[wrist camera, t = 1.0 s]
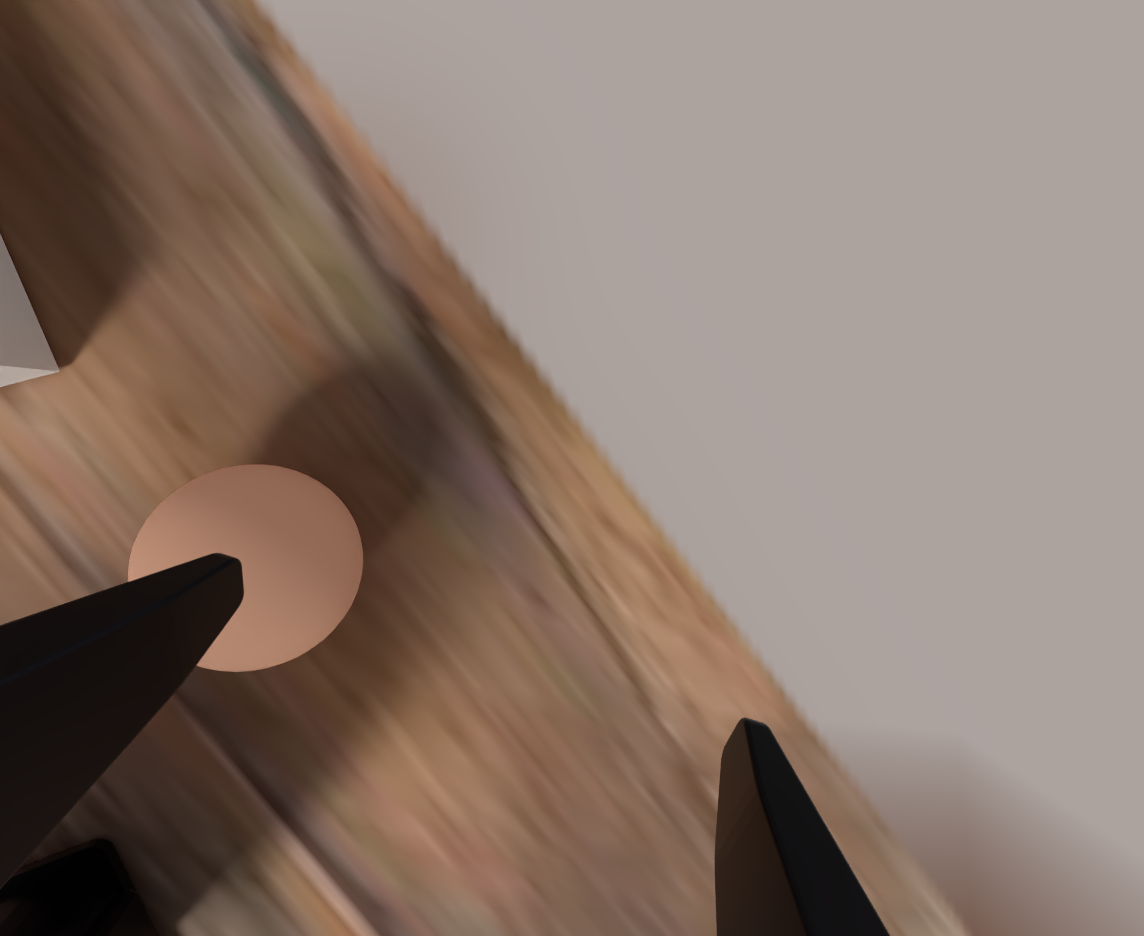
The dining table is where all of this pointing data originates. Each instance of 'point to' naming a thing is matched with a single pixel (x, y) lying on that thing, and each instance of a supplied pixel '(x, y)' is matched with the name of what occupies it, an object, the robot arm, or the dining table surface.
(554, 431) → the dining table surface
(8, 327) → the walled pen
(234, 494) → the ball
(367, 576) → the dining table surface
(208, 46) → the dining table surface
